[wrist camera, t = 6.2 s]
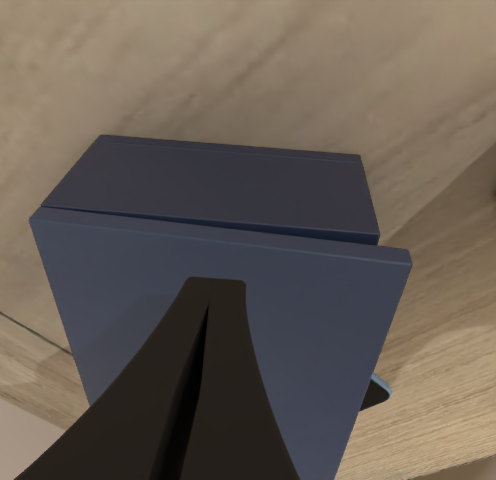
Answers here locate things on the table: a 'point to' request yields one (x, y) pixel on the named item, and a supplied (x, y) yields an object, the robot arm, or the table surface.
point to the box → (223, 187)
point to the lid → (257, 303)
